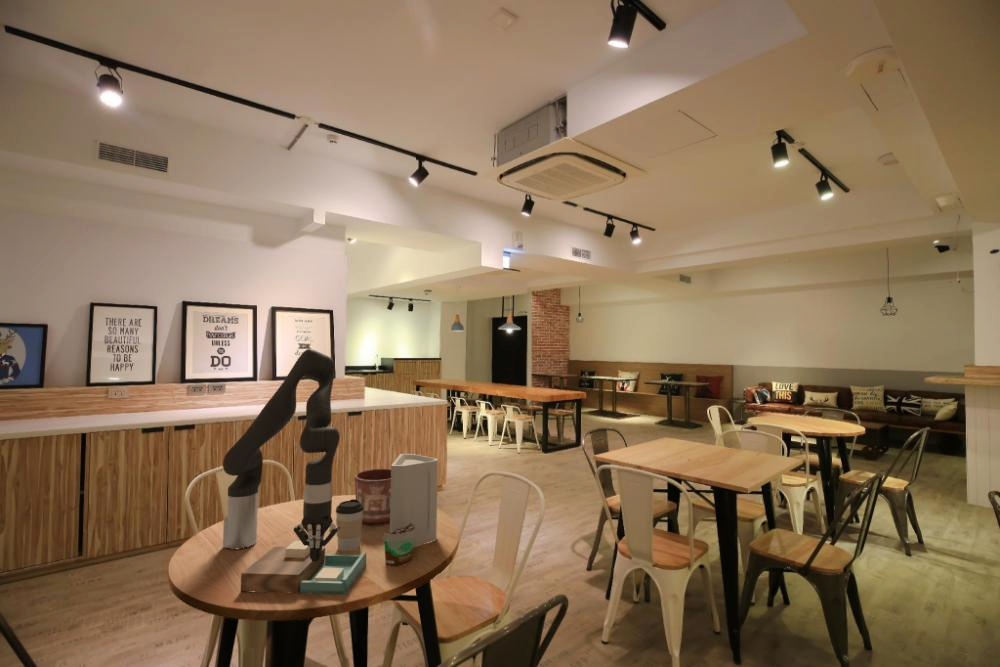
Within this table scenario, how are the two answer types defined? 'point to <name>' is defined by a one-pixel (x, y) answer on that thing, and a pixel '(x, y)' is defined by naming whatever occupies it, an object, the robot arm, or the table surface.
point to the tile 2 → (330, 574)
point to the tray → (351, 572)
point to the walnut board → (279, 572)
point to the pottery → (374, 495)
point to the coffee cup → (349, 524)
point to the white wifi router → (414, 496)
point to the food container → (399, 545)
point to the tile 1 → (297, 550)
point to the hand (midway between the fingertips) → (315, 560)
